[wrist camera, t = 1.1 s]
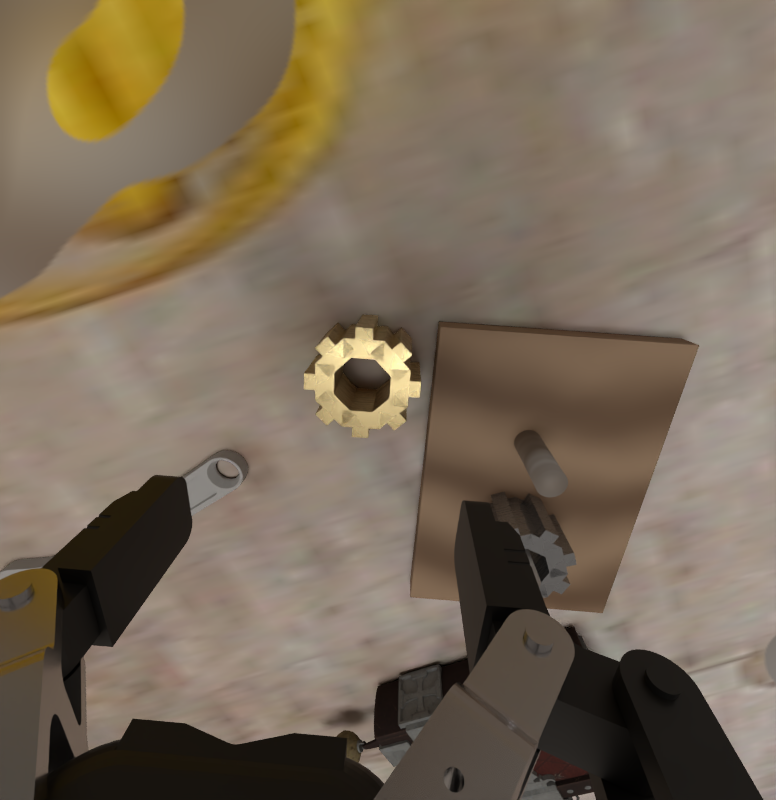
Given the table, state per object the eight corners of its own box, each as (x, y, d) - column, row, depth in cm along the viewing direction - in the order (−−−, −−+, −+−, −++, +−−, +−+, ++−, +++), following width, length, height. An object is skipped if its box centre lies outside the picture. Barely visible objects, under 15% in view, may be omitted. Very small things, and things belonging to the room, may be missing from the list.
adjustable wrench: (233, 438, 28) (223, 450, 26) (288, 506, 30) (281, 522, 28) (-5, 570, 33) (-27, 587, 32) (54, 620, 35) (37, 639, 34)
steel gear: (450, 505, 27) (456, 542, 24) (546, 481, 26) (566, 516, 23) (474, 574, 29) (483, 617, 26) (563, 554, 28) (583, 597, 25)
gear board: (438, 321, 24) (448, 348, 18) (682, 338, 24) (766, 371, 18) (410, 580, 31) (410, 655, 26) (593, 596, 31) (634, 674, 26)
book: (623, 721, 37) (654, 792, 32) (380, 781, 42) (377, 849, 38) (571, 615, 33) (599, 680, 28) (306, 697, 38) (292, 763, 33)
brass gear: (317, 311, 24) (303, 323, 21) (423, 318, 24) (426, 332, 21) (317, 408, 26) (305, 433, 23) (414, 415, 26) (415, 441, 23)
